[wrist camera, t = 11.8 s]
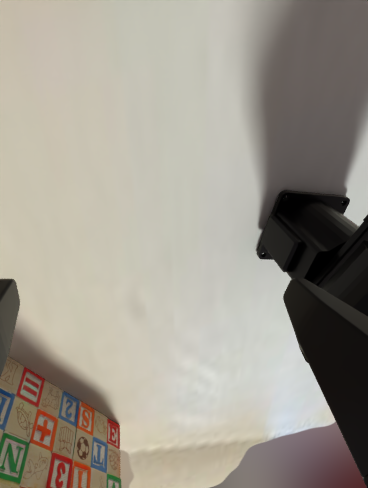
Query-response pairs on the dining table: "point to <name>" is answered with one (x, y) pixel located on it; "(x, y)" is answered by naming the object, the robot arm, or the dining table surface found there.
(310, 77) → the dining table surface
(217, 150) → the dining table surface
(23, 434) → the stack of blocks
